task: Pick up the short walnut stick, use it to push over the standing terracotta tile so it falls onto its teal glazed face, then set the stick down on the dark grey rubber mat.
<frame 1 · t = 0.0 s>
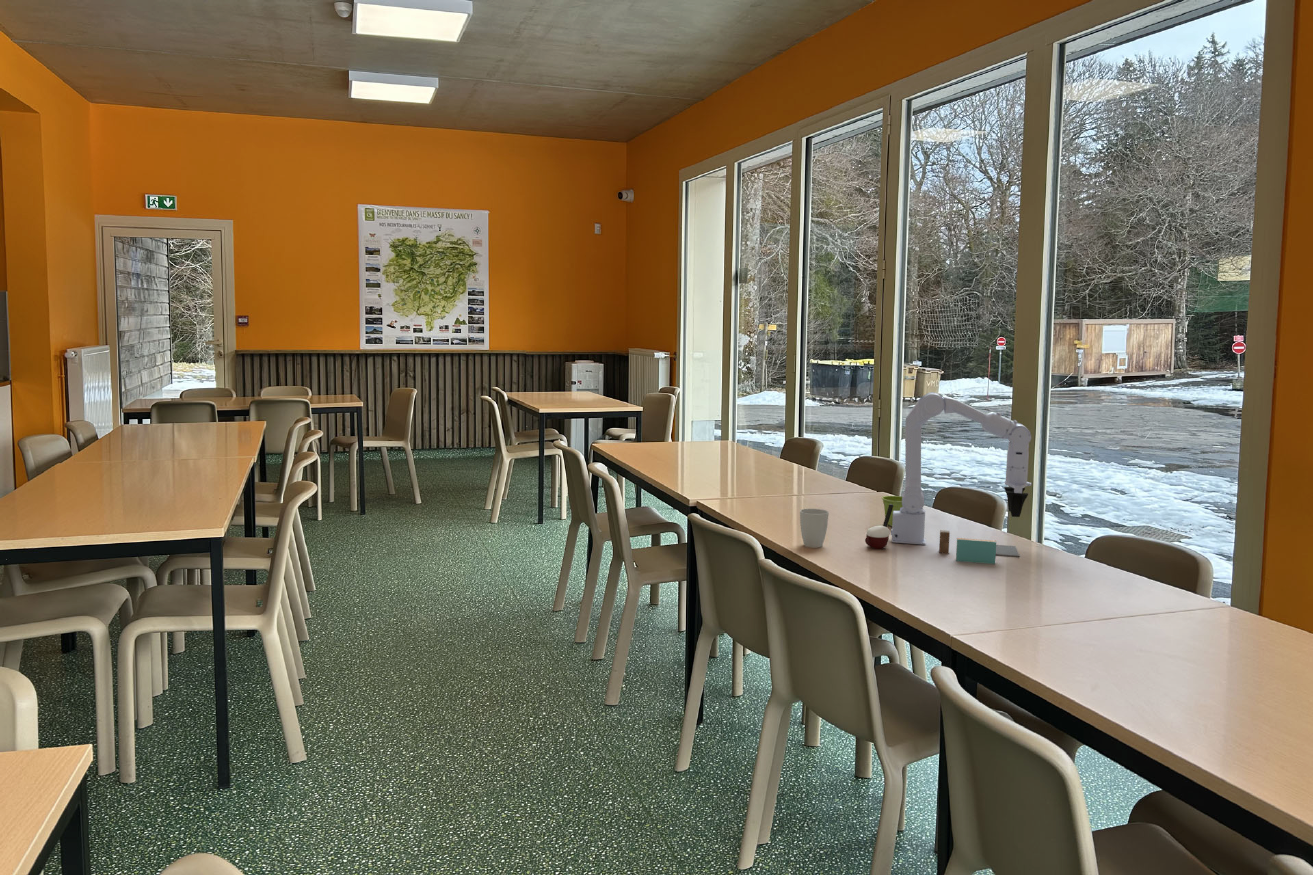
hand: (1014, 514, 270), 10 cm above the table, fingers open, 7 cm apart
cocoa: (878, 548, 270), on the table
cup: (813, 546, 271), on the table
stick: (943, 552, 266), on the table
plant pot: (895, 525, 301), on the table
mat: (994, 550, 269), on the table
tile: (975, 561, 256), on the table
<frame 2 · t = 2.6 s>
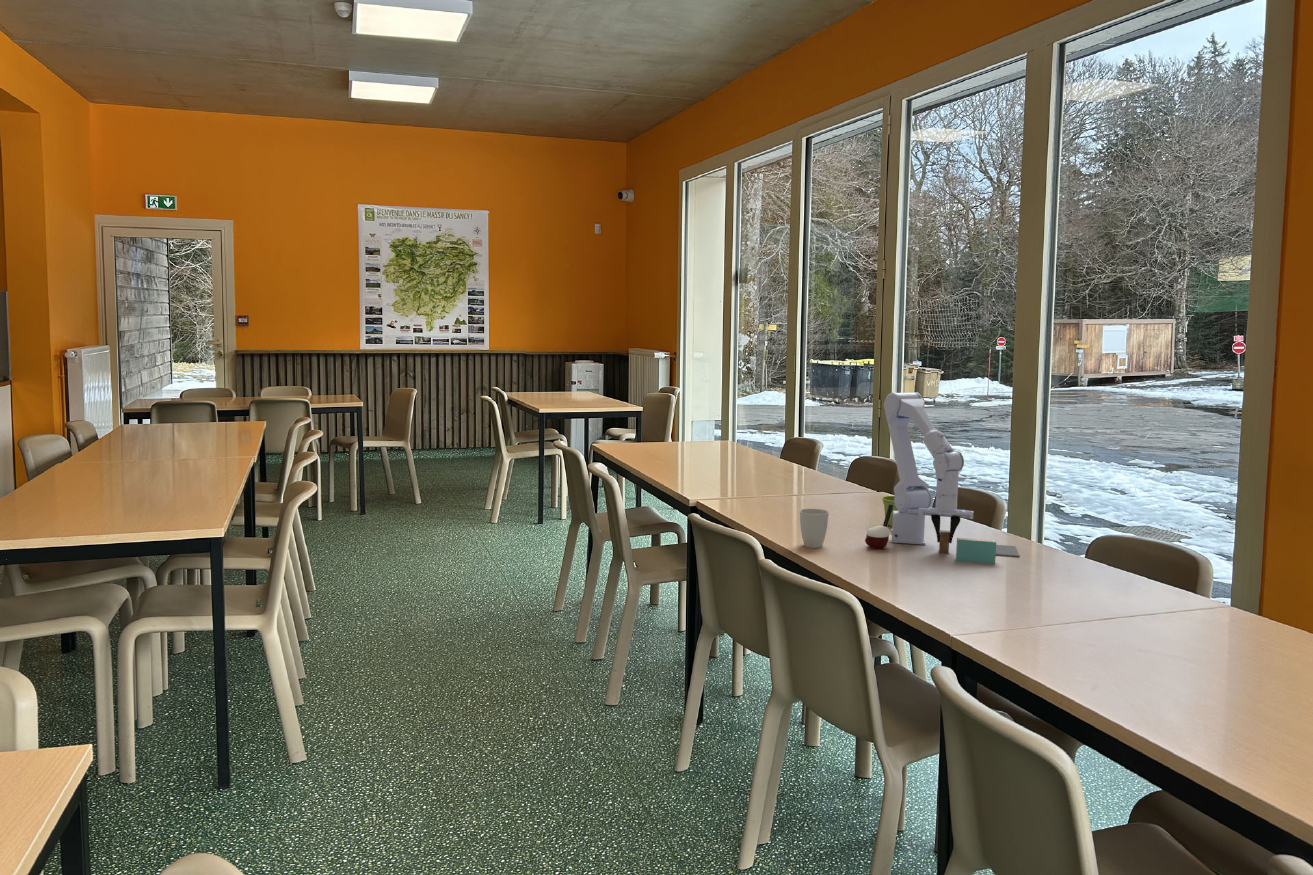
hand: (944, 542, 265), 3 cm above the table, fingers closed on stick, 2 cm apart
stick: (943, 552, 266), on the table, touching gripper
everything else where it was.
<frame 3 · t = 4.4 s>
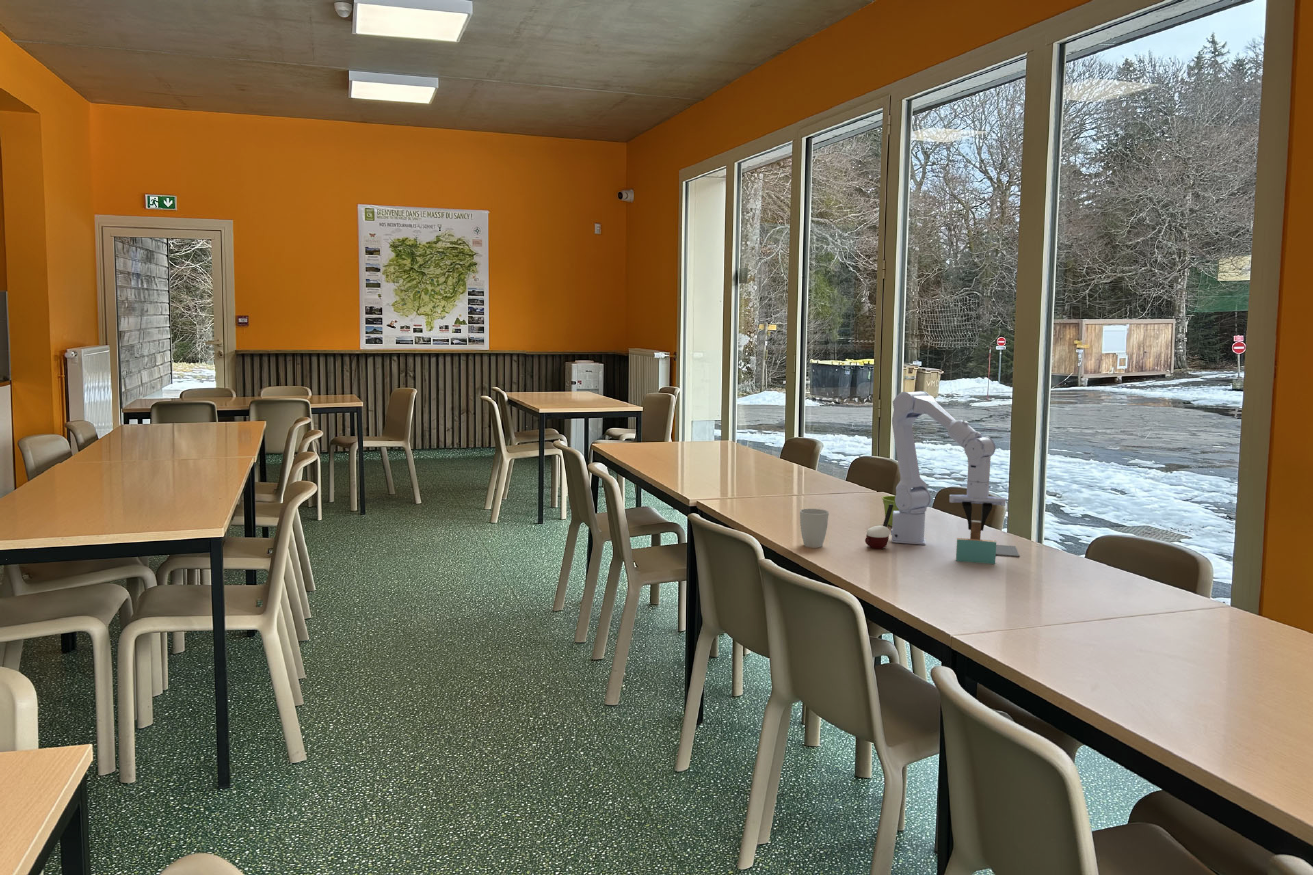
hand: (975, 529, 261), 7 cm above the table, fingers closed on stick, 2 cm apart
stick: (975, 542, 261), point 4 cm above the table, touching gripper
everything else where it was.
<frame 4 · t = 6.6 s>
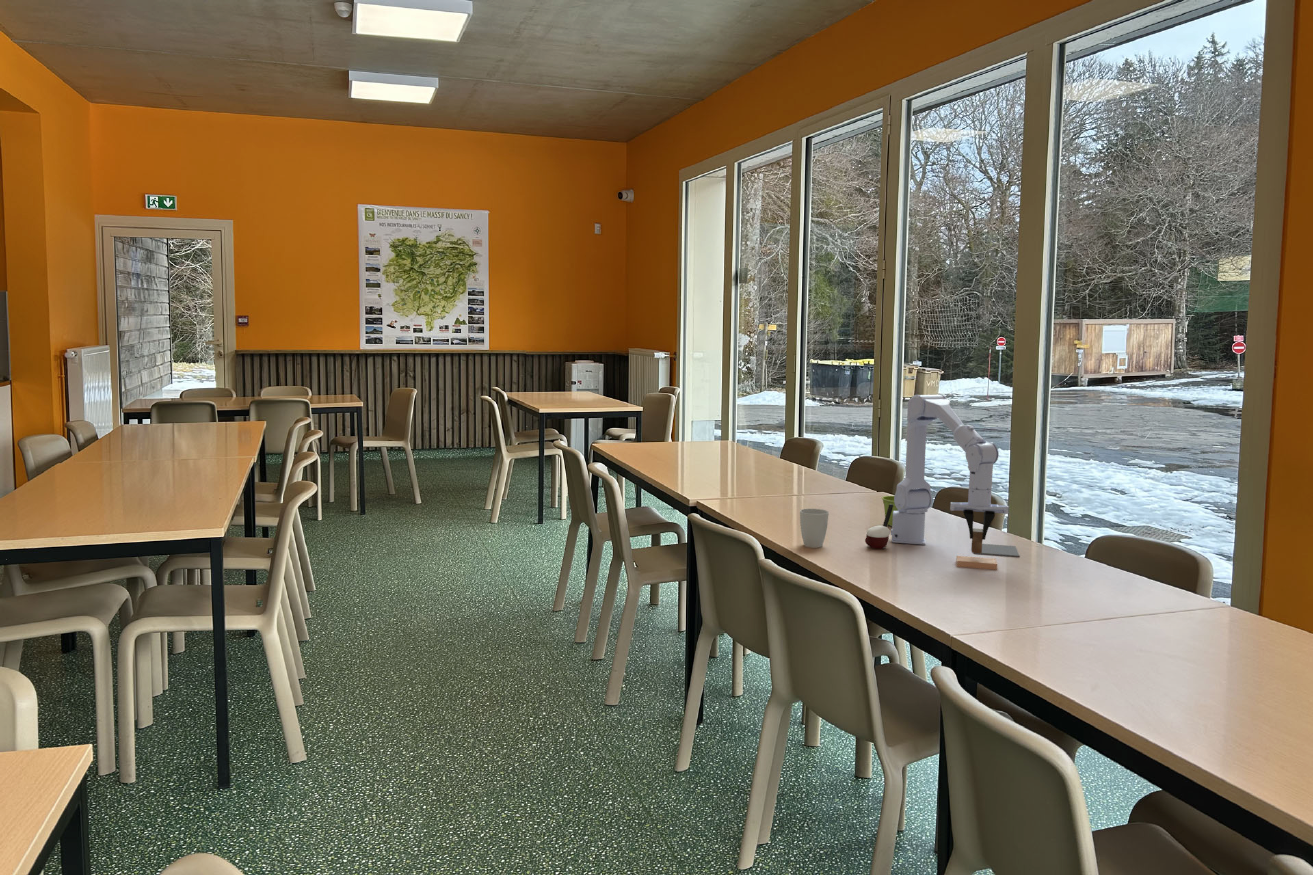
hand: (977, 538, 252), 7 cm above the table, fingers closed on stick, 2 cm apart
stick: (976, 551, 254), point 3 cm above the table, tilted 8°, touching gripper
tile: (975, 560, 255), on the table, tilted 90°
everything else where it was.
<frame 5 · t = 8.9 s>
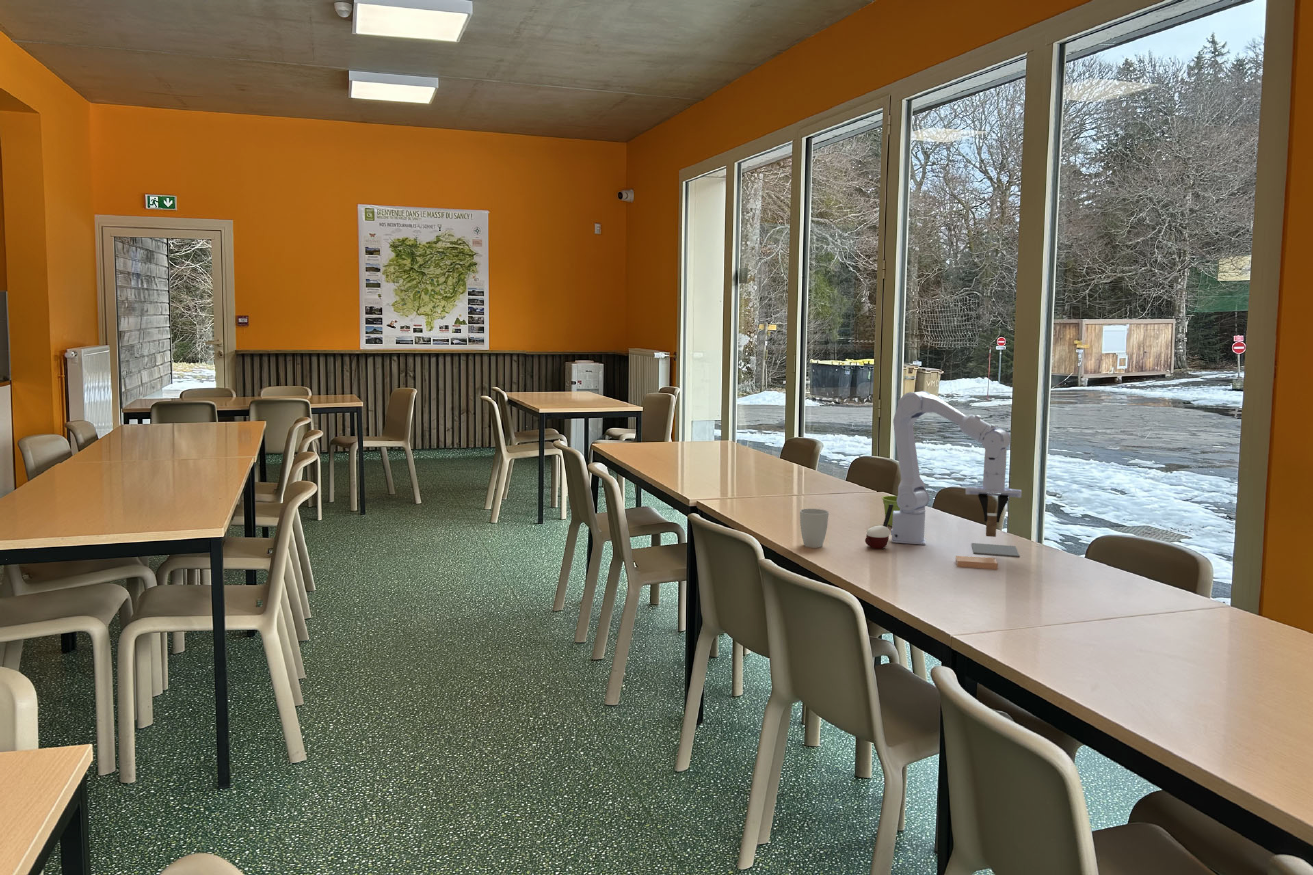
hand: (991, 521, 263), 9 cm above the table, fingers closed on stick, 2 cm apart
stick: (990, 535, 264), point 5 cm above the table, tilted 7°, touching gripper
everything else where it was.
when the fingers open (4 cm above the table, at t = 10.5 s): stick stays where it is, resting on mat.
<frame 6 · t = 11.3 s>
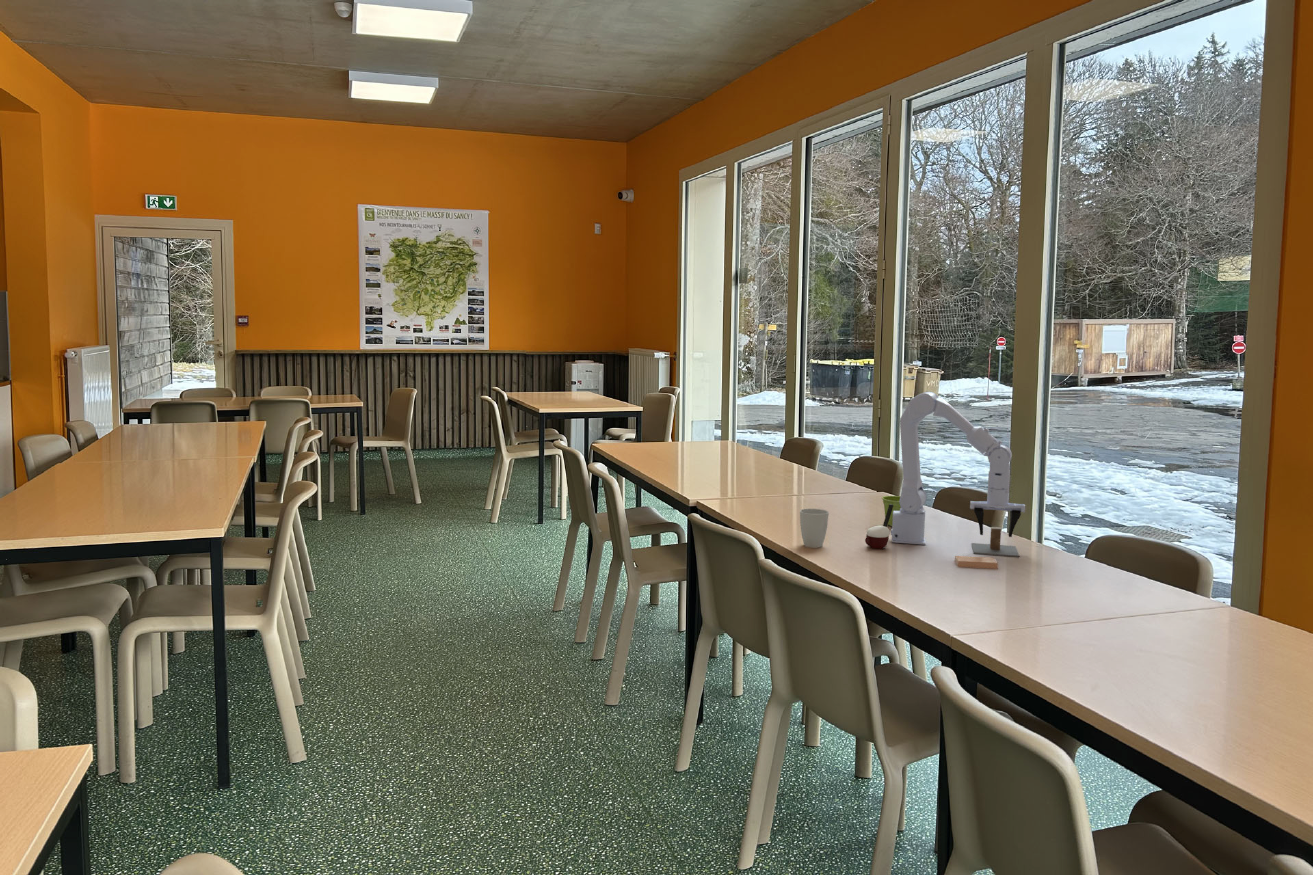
hand: (995, 535, 268), 4 cm above the table, fingers open, 7 cm apart
stick: (994, 548, 269), resting on mat
everything else where it was.
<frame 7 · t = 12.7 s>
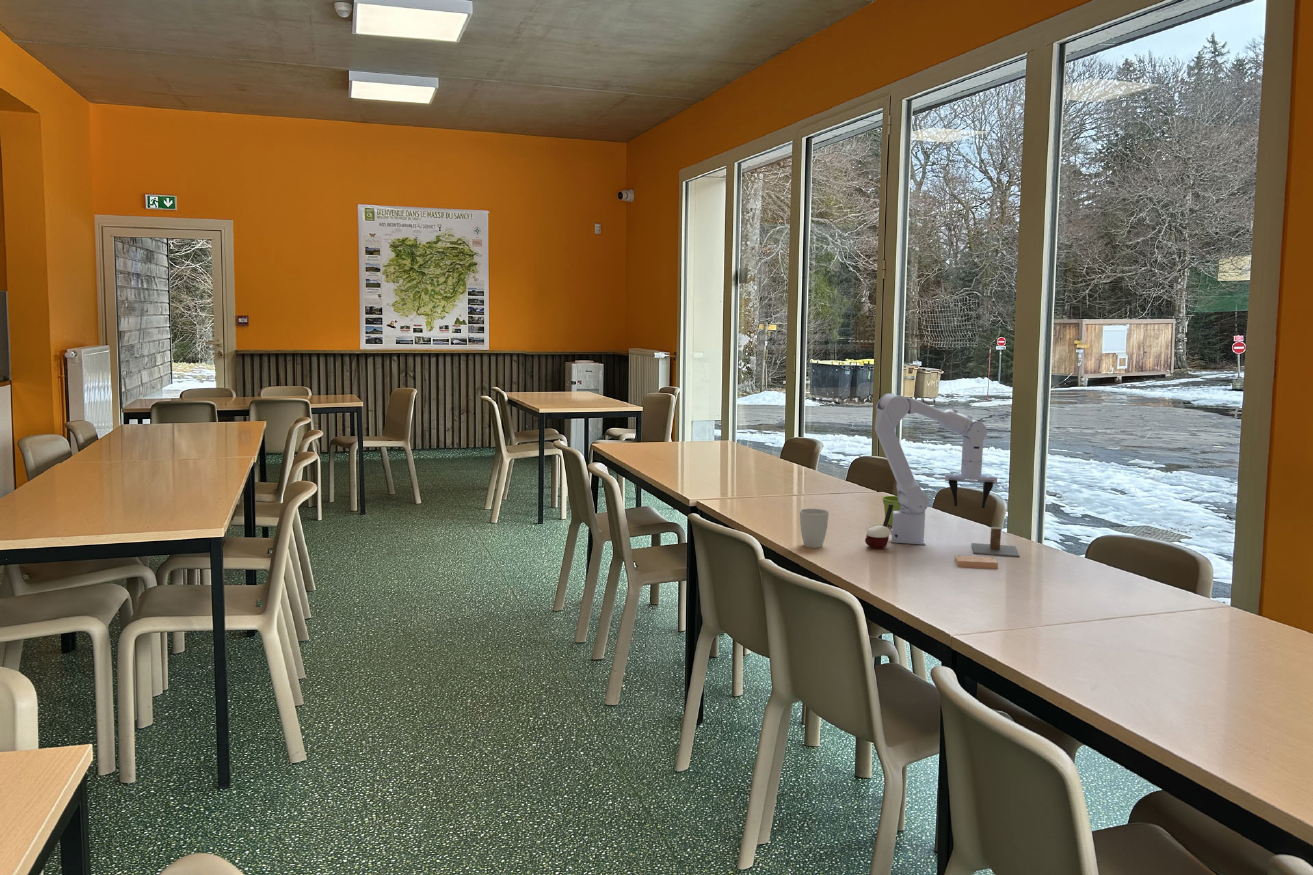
hand: (969, 506, 279), 10 cm above the table, fingers open, 7 cm apart
nothing on the table moved.
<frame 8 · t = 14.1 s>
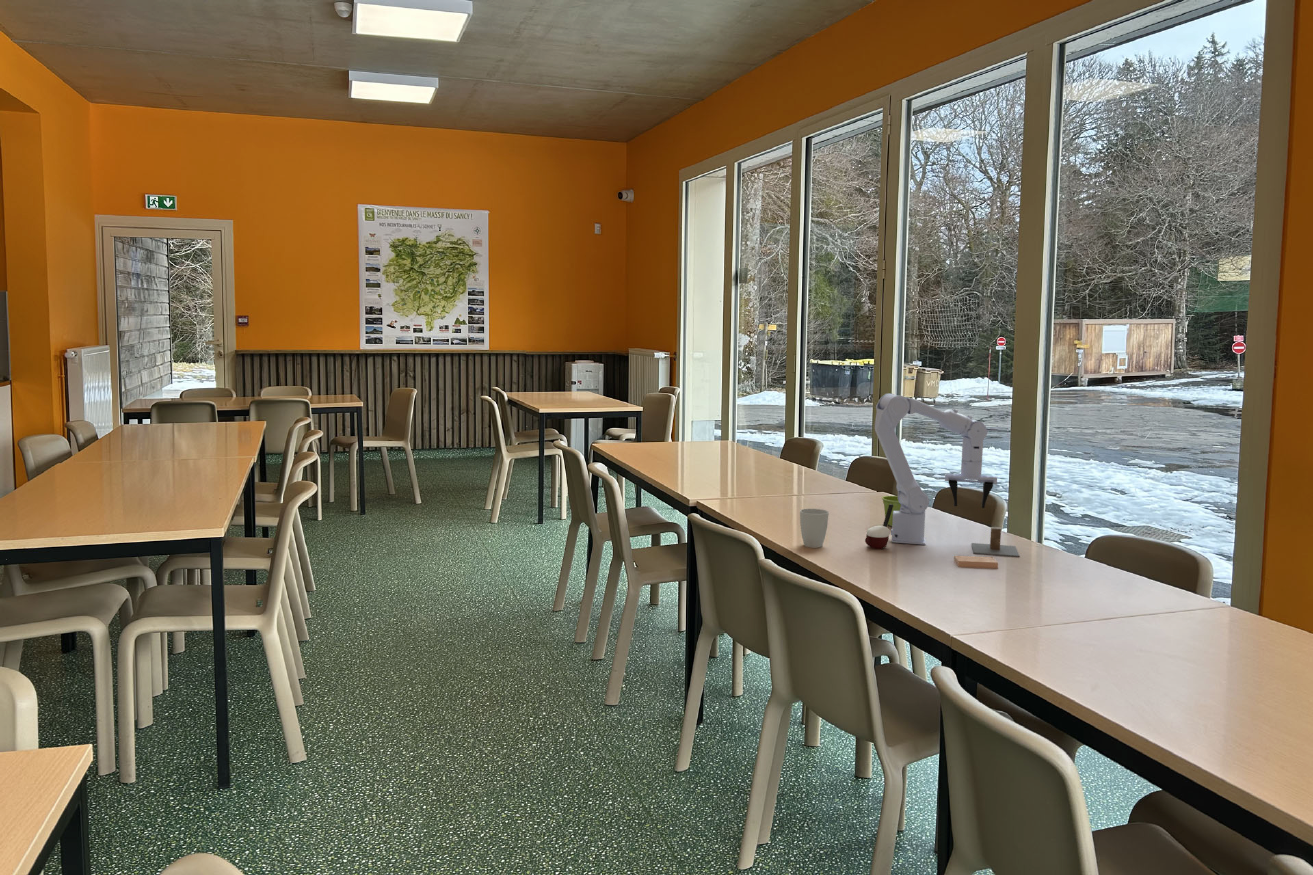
hand: (969, 506, 279), 10 cm above the table, fingers open, 7 cm apart
nothing on the table moved.
at the end: tile tilted 90°; tile inside the target area (3.0 cm from its centre), point 0.5 cm above the table; stick inside the target area on the mat (0.6 cm from its centre), point 0.4 cm above the mat's base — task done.
